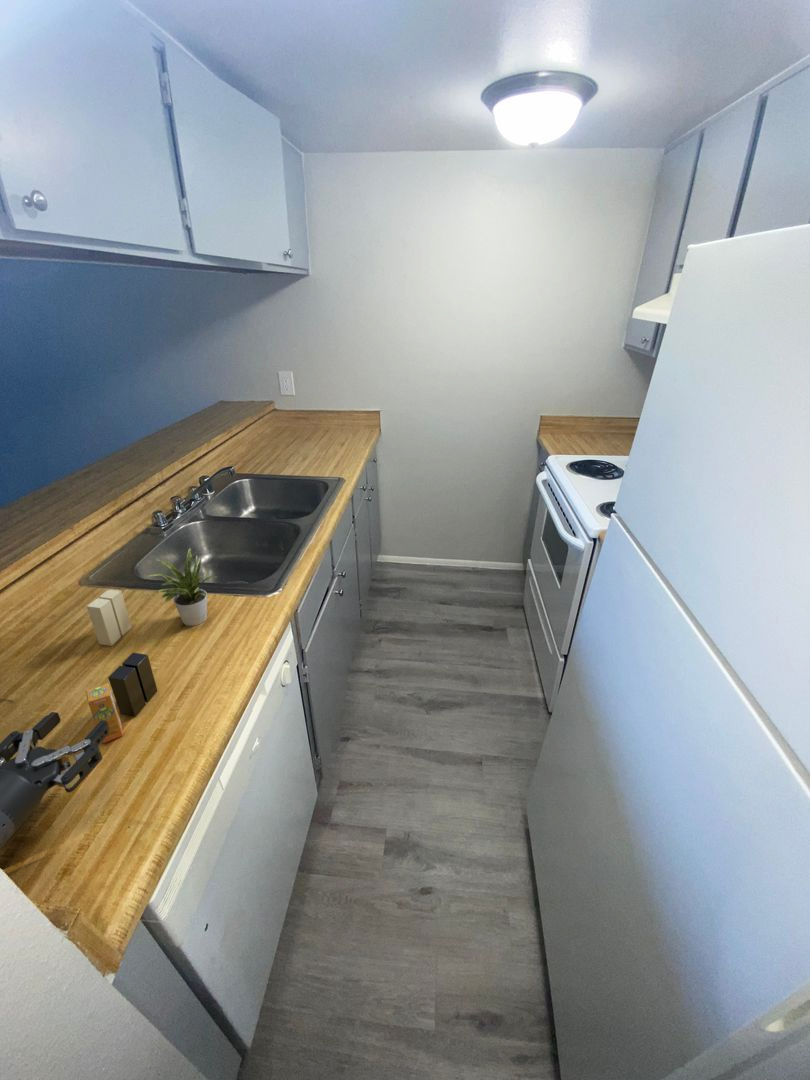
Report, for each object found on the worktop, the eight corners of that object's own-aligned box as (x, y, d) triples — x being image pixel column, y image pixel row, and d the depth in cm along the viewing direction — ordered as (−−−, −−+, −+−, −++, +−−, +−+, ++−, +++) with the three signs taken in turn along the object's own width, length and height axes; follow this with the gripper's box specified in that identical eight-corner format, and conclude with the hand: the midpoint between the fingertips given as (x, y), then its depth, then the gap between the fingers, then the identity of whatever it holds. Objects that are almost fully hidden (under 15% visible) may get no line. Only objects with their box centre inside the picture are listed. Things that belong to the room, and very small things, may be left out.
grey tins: (135, 717, 85) (123, 679, 80) (120, 714, 85) (107, 677, 81) (157, 690, 90) (147, 654, 86) (143, 688, 91) (132, 652, 87)
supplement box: (102, 745, 79) (85, 702, 75) (100, 731, 82) (84, 688, 77) (124, 736, 81) (109, 694, 76) (122, 723, 83) (108, 680, 79)
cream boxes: (111, 646, 101) (99, 607, 96) (99, 644, 101) (86, 606, 97) (131, 627, 107) (121, 590, 102) (119, 625, 107) (108, 589, 102)
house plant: (164, 603, 115) (149, 544, 108) (224, 595, 119) (214, 538, 112) (156, 640, 103) (139, 576, 96) (223, 629, 107) (212, 568, 100)
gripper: (25, 811, 57) (117, 709, 71) (-77, 792, 59) (33, 695, 73) (44, 847, 61) (128, 743, 75) (-52, 828, 62) (48, 729, 77)
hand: (81, 719), depth 74 cm, fingers open, 8 cm apart
